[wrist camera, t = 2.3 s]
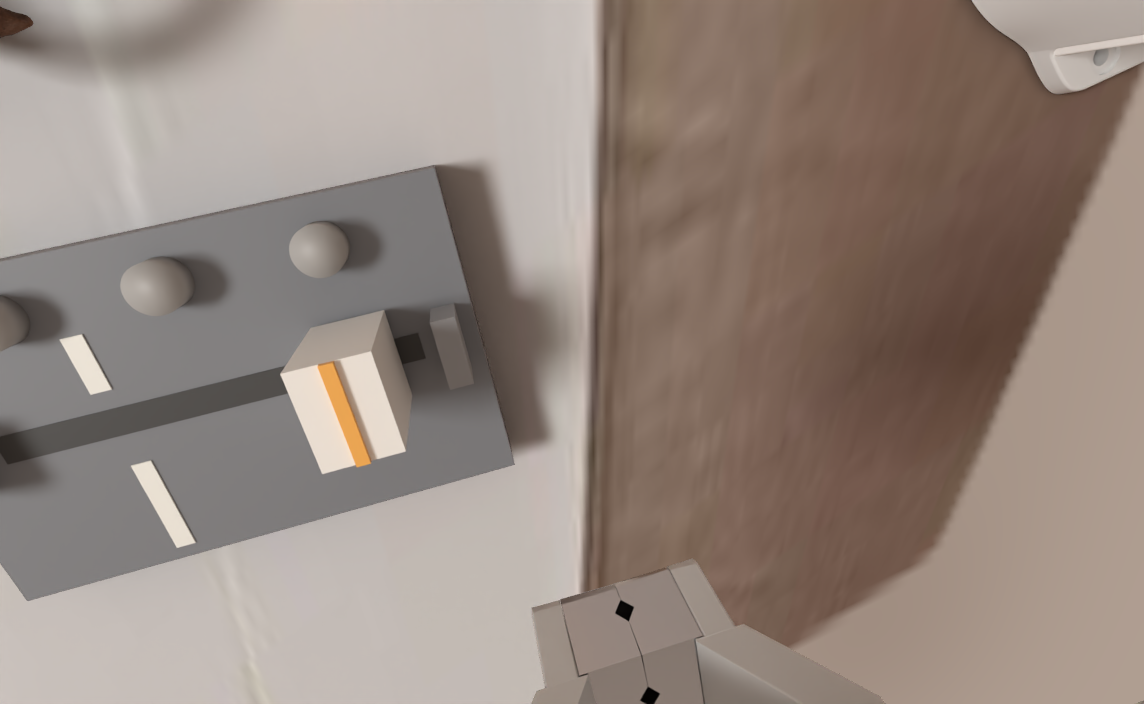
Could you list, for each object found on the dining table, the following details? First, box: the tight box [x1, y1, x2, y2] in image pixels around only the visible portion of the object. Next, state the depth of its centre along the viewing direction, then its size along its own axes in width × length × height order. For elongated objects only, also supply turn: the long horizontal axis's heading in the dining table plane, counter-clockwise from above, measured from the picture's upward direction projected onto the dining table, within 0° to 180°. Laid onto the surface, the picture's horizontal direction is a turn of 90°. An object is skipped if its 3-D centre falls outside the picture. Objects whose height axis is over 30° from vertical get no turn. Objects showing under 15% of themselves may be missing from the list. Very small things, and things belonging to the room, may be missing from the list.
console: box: [0, 165, 515, 601], centre depth 25 cm, size 22×14×4 cm, turn 101°
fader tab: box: [280, 310, 412, 474], centre depth 23 cm, size 3×4×5 cm
